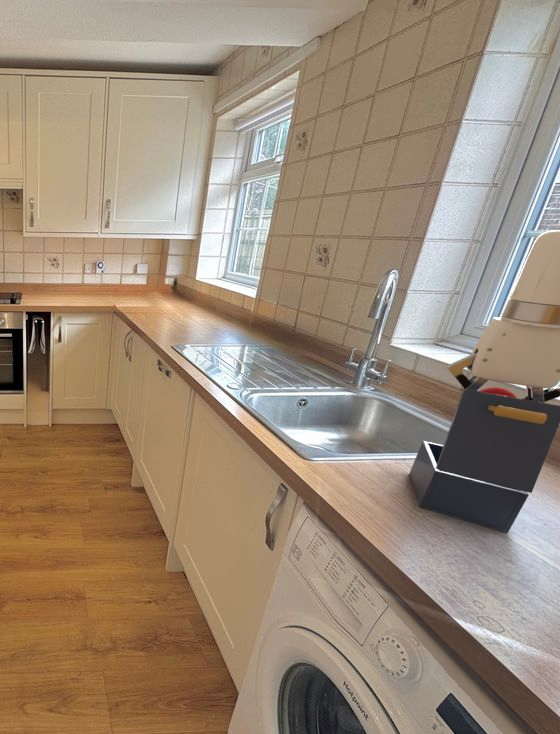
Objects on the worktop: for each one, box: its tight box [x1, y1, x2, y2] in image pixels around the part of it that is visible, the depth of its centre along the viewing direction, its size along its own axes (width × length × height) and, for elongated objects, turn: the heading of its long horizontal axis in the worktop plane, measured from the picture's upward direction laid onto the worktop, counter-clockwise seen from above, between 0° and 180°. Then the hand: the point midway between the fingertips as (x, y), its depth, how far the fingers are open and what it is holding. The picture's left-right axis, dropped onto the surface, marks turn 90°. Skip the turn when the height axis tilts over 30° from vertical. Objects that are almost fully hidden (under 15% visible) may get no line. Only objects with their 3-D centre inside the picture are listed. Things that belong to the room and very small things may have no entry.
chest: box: [409, 440, 530, 534], centre depth 74 cm, size 13×11×8 cm
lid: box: [436, 388, 560, 494], centre depth 64 cm, size 14×11×6 cm
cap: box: [477, 386, 518, 398], centre depth 70 cm, size 8×6×6 cm
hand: (490, 416), depth 70 cm, fingers closed on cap, 5 cm apart
